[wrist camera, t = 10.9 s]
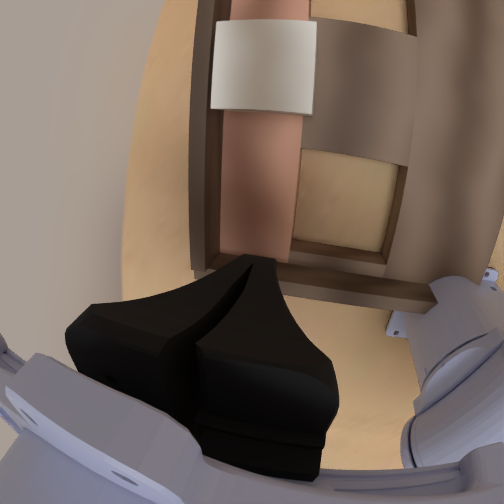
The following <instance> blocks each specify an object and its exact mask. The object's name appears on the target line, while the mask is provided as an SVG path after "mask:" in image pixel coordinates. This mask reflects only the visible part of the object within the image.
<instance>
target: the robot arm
mask: <svg viewBox="0 0 504 504" xmlns="http://www.w3.org/2000/svg"><path fill="white" fill-rule="evenodd" d="M276 270H277V260H276V259H275V258H269V257H263V256H256V255H250V254H243V255H241V256H239V257H237V258H236V259H234V260H233V261H231V262H229V263H228V264H226V265H224V266H223V267H221V268H219V269H218V270H216V271H214V272H212V273H210V274H208V275H206V276H205V277H203V278H201V279H199V280H197V281H195V282H192V283H190V284H188V285H185V286H182V287H180V288H177V289H174V290H171V291H168V292H164V293H161V294H157V295H154V296H150V297H146V298H141V299H136V300H130V301H123V302H113V303H102V304H91V305H90V306H89V307H88V308H87V309H86V310H85V311H84V312H83V313H82V314H81V315H80V316H79V317H78V318H77V319H76V320H75V321H74V322H73V323H72V324H71V325H70V326H69V327H68V328H67V329H66V332H65V341H66V346H67V349H68V351H69V354H70V356H71V358H72V360H73V362H74V364H75V366H76V368H77V370H78V372H77V371H75V370H74V369H72V368H70V367H68V366H66V365H64V364H63V363H61V362H59V361H57V360H55V359H54V358H52V357H49V356H46V355H44V354H40V353H35V354H34V355H33V357H31V358H30V359H29V361H27V362H26V361H25V360H23V359H22V358H21V357H19V356H18V355H17V354H15V353H14V352H12V351H11V350H10V349H9V348H8V346H7V344H6V342H5V340H4V338H3V337H2V335H1V334H0V416H1V417H2V418H3V419H4V420H5V421H6V422H7V423H8V424H9V425H10V426H11V427H12V428H13V429H14V430H15V431H16V432H17V433H18V434H19V436H18V438H17V439H16V441H15V442H14V443H13V444H12V446H11V447H10V448H9V450H8V451H7V453H6V454H5V456H4V457H3V458H2V460H1V461H0V504H504V292H503V291H502V290H501V289H500V287H499V286H498V285H497V284H496V279H497V277H498V271H497V270H496V269H493V268H488V267H487V269H486V271H485V273H486V272H487V274H486V275H485V274H484V277H483V279H482V282H481V284H480V286H479V285H477V284H475V283H473V282H472V281H471V280H469V279H467V278H465V277H461V276H447V277H443V278H440V279H438V280H436V281H434V282H432V283H430V284H429V286H430V288H431V290H432V292H433V294H434V296H435V298H436V299H437V301H438V304H437V305H436V306H434V307H433V308H432V309H430V310H429V311H428V312H427V313H426V314H418V313H410V312H401V311H393V313H392V315H391V318H390V320H389V323H388V325H387V328H386V335H387V336H391V337H401V338H407V339H408V342H409V346H410V349H411V353H412V357H413V361H414V365H415V369H416V373H417V378H418V382H419V387H420V391H421V394H420V395H419V396H418V397H417V398H416V399H415V400H414V401H413V404H414V410H415V416H413V417H412V418H410V419H409V420H408V421H407V423H406V424H405V426H404V428H403V430H402V434H401V442H400V453H401V460H402V464H403V467H404V469H391V470H336V469H321V468H320V463H321V455H322V449H323V448H324V446H325V439H326V432H327V430H328V429H329V427H330V425H331V423H332V422H333V420H334V418H335V416H336V414H337V411H338V408H339V391H338V384H337V379H336V375H335V371H334V367H333V364H332V361H331V360H330V359H329V358H328V357H327V356H326V355H325V354H324V353H323V352H322V351H320V350H319V349H318V348H317V347H316V346H315V345H314V344H313V343H312V342H311V341H310V340H309V339H308V338H307V337H306V335H305V334H304V332H303V331H302V330H301V328H300V327H299V326H298V324H297V323H296V321H295V320H294V318H293V316H292V315H291V313H290V311H289V309H288V307H287V305H286V303H285V300H284V298H283V295H282V292H281V289H280V286H279V282H278V278H277V271H276ZM395 331H397V332H395Z"/></svg>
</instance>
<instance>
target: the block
mask: <svg viewBox="0 0 504 504" xmlns="http://www.w3.org/2000/svg"><path fill="white" fill-rule="evenodd" d="M317 50H318V36H317V22H314V21H302V20H281V19H251V20H230V21H217V22H216V33H215V46H214V59H213V73H212V90H211V109H219V110H228V111H242V112H263V113H278V114H290V115H300V116H309V117H313V114H314V100H315V86H316V70H317Z"/></svg>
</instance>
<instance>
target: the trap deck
mask: <svg viewBox="0 0 504 504" xmlns="http://www.w3.org/2000/svg"><path fill="white" fill-rule="evenodd" d="M406 1H407V15H408V34H404V33H401V32H397V31H393V30H389V29H385V28H381V27H376V26H371V25H366V24H361V23H355V22H349V21H343V20H335V19H327V18H318V17H310V9H311V0H198V8H197V17H196V27H195V37H194V49H193V62H192V77H191V95H190V119H189V233H190V258H191V270H194V276H195V279H198V280H199V279H201V278H203V277H205V276H206V275H208V274H210V273H212V272H214V271H216V270H218V269H219V268H221V267H223V266H224V265H226V264H228V263H229V262H231V261H233V260H234V259H236V258H237V257H239V256H241V255H243V254H250V255H256V256H263V257H269V258H275V259H276V260H277V270H276V271H277V278H278V282H279V286H280V289H281V292H282V295H288V296H294V297H301V298H307V299H314V300H320V301H327V302H334V303H341V304H348V305H355V306H362V307H370V308H377V309H385V310H393V311H401V312H410V313H418V314H426V313H427V312H428V311H429V310H430V309H432V308H433V307H434V306H436V305H437V304H438V301H437V299H436V298H435V296H434V294H433V292H432V290H431V288H430V286H429V284H430V283H432V282H434V281H436V280H438V279H440V278H443V277H447V276H461V277H465V278H467V279H469V280H471V281H472V282H473V283H475V284H477V285H479V286H480V284H481V282H482V279H483V277H484V274H485V271H486V269H487V266H488V264H489V261H490V258H491V255H492V252H493V249H494V246H495V243H496V240H497V237H498V234H499V230H500V227H501V223H502V220H503V216H504V0H406ZM251 19H281V20H302V21H314V22H317V36H318V50H317V70H316V86H315V100H314V114H313V117H309V116H300V115H290V114H278V113H263V112H242V111H228V110H219V109H211V90H212V73H213V59H214V46H215V33H216V22H217V21H230V20H251ZM302 148H305V149H313V150H320V151H327V152H334V153H340V154H346V155H352V156H358V157H364V158H369V159H374V160H379V161H384V162H389V163H394V164H398V165H400V167H399V173H398V179H397V185H396V190H395V196H394V201H393V206H392V211H391V215H390V220H389V224H388V229H387V233H386V237H385V241H384V245H383V249H382V253H377V252H371V251H364V250H358V249H352V248H345V247H339V246H333V245H326V244H320V243H313V242H306V241H300V240H293V239H292V238H293V229H294V221H295V212H296V203H297V194H298V185H299V175H300V165H301V154H302Z"/></svg>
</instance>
